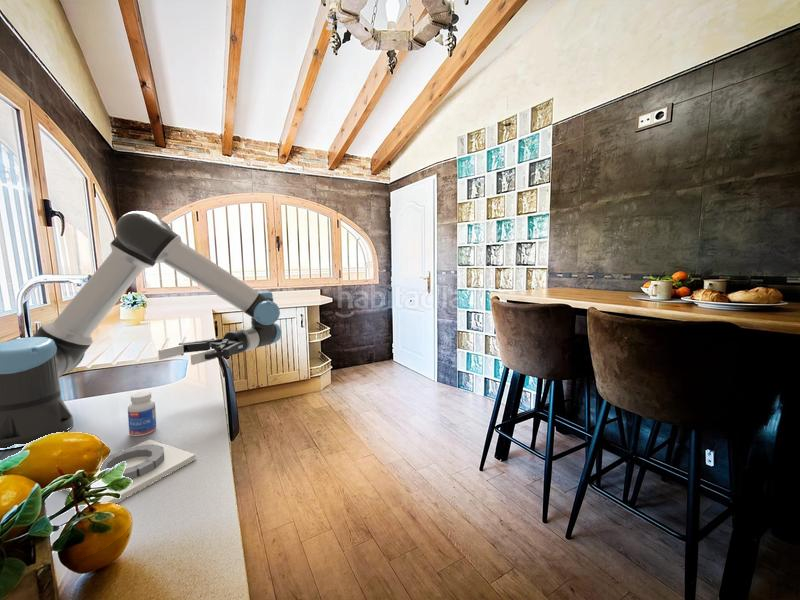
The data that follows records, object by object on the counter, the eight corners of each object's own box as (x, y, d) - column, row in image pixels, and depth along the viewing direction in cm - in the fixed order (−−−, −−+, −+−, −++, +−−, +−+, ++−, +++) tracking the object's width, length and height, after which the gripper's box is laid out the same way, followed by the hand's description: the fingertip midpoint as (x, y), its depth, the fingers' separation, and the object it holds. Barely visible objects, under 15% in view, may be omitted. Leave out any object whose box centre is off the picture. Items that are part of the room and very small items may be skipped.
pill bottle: (126, 439, 78) (123, 400, 78) (132, 429, 83) (129, 392, 82) (155, 433, 81) (152, 395, 80) (158, 424, 86) (155, 388, 85)
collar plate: (57, 485, 62) (55, 472, 61) (150, 444, 76) (149, 433, 76) (104, 510, 55) (103, 495, 55) (195, 459, 70) (195, 447, 70)
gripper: (269, 355, 103) (207, 376, 84) (215, 348, 113) (148, 365, 94) (268, 332, 103) (205, 347, 83) (213, 327, 113) (145, 340, 93)
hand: (174, 357), depth 89 cm, fingers open, 13 cm apart
